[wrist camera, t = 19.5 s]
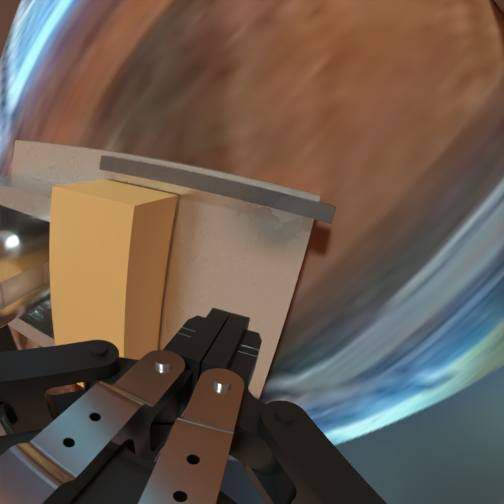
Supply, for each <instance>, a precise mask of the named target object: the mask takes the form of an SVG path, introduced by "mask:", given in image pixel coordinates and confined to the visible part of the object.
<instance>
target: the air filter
mask: <svg viewBox="0 0 504 504" xmlns="http://www.w3.org/2000/svg"><path fill="white" fill-rule="evenodd" d="M49 239H50V222H49V221H46V220H43V219H40V218H37V217H35V218H31V219H28V220H24V221H20V222H17V223H13V224H10V225H6V226H3V227H0V328H1V327H3V326H5V325H6V324H8V323H10V322H11V321H13V320H14V319H16V318H18V317H19V316H21V315H23V314H24V313H26V312H28V311H29V310H31V309H33V308H34V307H36V306H38V305H40V304H41V303H43V302H45V301H46V300H48V299H50V298H51V293H50V267H49Z"/></svg>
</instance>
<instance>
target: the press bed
mask: <svg viewBox="0 0 504 504" xmlns="http://www.w3.org/2000/svg"><path fill="white" fill-rule="evenodd" d="M102 179H106V180H111V181H116V182H120V183H125V184H130V185H134V186H139V187H143V188H148V189H152V190H157V191H161V192H166V193H170V194H174V195H178V197H177V203H176V209H175V214H174V220H173V227H172V233H171V239H170V246H169V253H168V260H167V267H166V274H165V282H164V290H163V299H162V307H161V317H160V326H159V337H158V348H157V350H163V349H164V348H165V346H166V345H167V344H168V343H169V342H170V340H171V339H172V338H173V337H174V336H175V334H176V333H178V331H179V330H180V328H182V326H183V325H184V324H185V322H186V321H187V320H188V319H190V318H193V317H195V316H197V315H198V316H201V317H205V318H206V316H207V315H208V314H209V312H210V311H211V309H212V308H217V309H220V310H224V311H227V312H231V313H235V314H238V315H242V316H246V317H249V318H250V321H249V326H248V330H250V331H254V332H258V333H259V334H260V337H261V340H262V343H261V347H260V351H259V354H258V358H257V362H256V366H255V370H254V373H253V376H252V379H251V382H250V385H249V388H248V389H249V391H250V392H251V394H252V395H253V396H254V397H255V398H256V399H258V400H259V397H260V395H261V392H262V389H263V386H264V383H265V380H266V377H267V374H268V371H269V368H270V365H271V362H272V359H273V356H274V353H275V350H276V347H277V344H278V341H279V338H280V334H281V331H282V328H283V325H284V322H285V319H286V315H287V312H288V309H289V306H290V302H291V299H292V296H293V292H294V289H295V286H296V282H297V279H298V276H299V272H300V269H301V265H302V262H303V258H304V255H305V251H306V248H307V244H308V241H309V237H310V233H311V230H312V226H313V222H314V219H316V220H320V221H323V222H327V223H330V224H332V220H333V216H334V213H335V209H336V207H335V206H333V205H330V204H326V203H323V202H319V200H320V195H318V194H315V193H311V192H307V191H303V190H300V189H296V188H292V187H288V186H284V185H280V184H276V183H272V182H268V181H264V180H260V179H255V178H251V177H247V176H242V175H238V174H234V173H229V172H225V171H220V170H215V169H211V168H206V167H201V166H196V165H191V164H186V163H181V162H176V161H170V160H165V159H160V158H154V157H148V156H143V155H137V154H131V153H124V152H118V151H111V150H105V149H98V148H91V147H83V146H76V145H68V144H59V143H50V142H41V141H31V140H16V141H15V149H14V157H13V166H12V175H4V176H0V227H3V226H6V225H10V224H13V223H17V222H20V221H24V220H28V219H31V218H35V217H37V218H40V219H43V220H46V221H49V222H50V213H51V198H52V186H56V185H63V184H70V183H77V182H85V181H93V180H102ZM8 325H10V326H11V327H13V328H14V329H16V330H17V331H19V332H20V333H22V334H23V335H25V336H26V337H28V338H29V339H31V340H32V341H34V342H36V343H37V344H39V345H41V346H42V347H49V346H55V338H54V330H53V320H52V308H51V298H50V299H48V300H46V301H45V302H43V303H41V304H40V305H38V306H36V307H34V308H33V309H31V310H29V311H28V312H26V313H24V314H23V315H21V316H19V317H18V318H16V319H14V320H13V321H11V322H10V323H8Z"/></svg>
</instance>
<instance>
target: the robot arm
mask: <svg viewBox="0 0 504 504" xmlns="http://www.w3.org/2000/svg"><path fill="white" fill-rule="evenodd" d="M494 2H495V3H496V4H497V6H498V7H499V9H500V10H501V11H502V13H503V14H504V0H494ZM249 321H250V318H249V317H246V316H242V315H238V314H235V313H231V312H227V311H224V310H220V309H217V308H212V309H211V311H210V312H209V314H208V315H207V316H206V318H205V317H201V316H198V315H197V316H195V317H193V318H190V319H188V320H187V321H186V322H185V324H184V325H183V326H182V328H180V330H179V331H178V333H176V334H175V336H174V337H173V338H172V339H171V340H170V342H169V343H168V344H167V345H166V346H165V348H164V349H163V350H155V351H151V352H149V353H147V354H146V355H145V356H143V357H142V358H141V359H140V360H136V359H129V358H123V357H119V350H118V348H117V347H116V346H115V345H114V344H113V343H111V342H108V341H105V340H90V341H83V342H77V343H70V344H64V345H57V346H49V347H42V348H34V349H26V350H18V351H10V352H0V504H237V503H236V502H235V501H233V500H232V499H231V498H230V497H228V496H227V495H226V494H224V493H223V492H221V491H220V486H221V482H222V478H223V474H224V470H225V466H226V462H227V458H228V454H229V455H231V456H232V457H234V458H236V459H237V460H239V461H241V462H242V463H244V469H245V471H246V473H247V474H248V476H249V478H250V480H251V481H252V483H253V484H254V486H255V487H256V489H257V491H258V492H259V494H260V496H261V497H262V498H263V500H264V502H265V503H266V504H386V502H385V501H384V500H383V499H382V498H381V497H380V496H379V495H378V494H377V493H376V492H375V491H374V490H373V489H372V487H371V486H370V485H369V484H368V483H367V482H366V481H365V480H364V479H363V478H362V477H361V476H360V474H359V473H358V472H357V471H356V470H355V469H354V468H353V467H352V466H351V464H350V463H349V462H348V461H347V460H346V459H345V458H344V457H343V456H342V454H341V453H340V452H339V451H338V450H337V449H336V448H335V446H334V445H333V444H332V443H331V442H330V441H329V439H328V438H327V437H326V436H325V435H324V434H323V432H322V431H321V430H320V429H319V428H318V427H317V425H316V424H315V423H314V422H313V421H312V419H311V418H310V417H309V416H308V415H307V414H306V412H305V411H304V410H303V409H302V408H301V407H299V406H298V405H296V404H294V403H291V402H287V401H273V402H270V403H268V404H265V403H263V402H261V401H259V400H258V399H256V398H255V397H254V396H253V395H252V394H251V392H250V391H249V389H248V388H249V385H250V382H251V379H252V376H253V373H254V370H255V366H256V362H257V358H258V354H259V351H260V347H261V343H262V340H261V337H260V334H259V333H258V332H254V331H250V330H248V326H249ZM81 382H83V385H84V390H81V391H75V392H70V393H64V394H59V395H48V394H47V393H45V392H46V391H47V390H48V389H50V388H53V387H59V386H65V385H70V384H76V383H81ZM185 409H186V410H185ZM184 410H185V412H184ZM183 412H184V415H183V417H181V416H182V414H183ZM162 448H163V450H162ZM161 450H162V452H161V454H160V456H159V459H158V461H157V462H154V460H155V458H156V457H157V455H158V454H159V452H160V451H161Z"/></svg>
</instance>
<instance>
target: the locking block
mask: <svg viewBox="0 0 504 504" xmlns="http://www.w3.org/2000/svg"><path fill="white" fill-rule="evenodd" d="M177 197H178V195H174V194H170V193H166V192H161V191H157V190H152V189H148V188H143V187H139V186H134V185H130V184H125V183H120V182H116V181H111V180H106V179H102V180H93V181H85V182H77V183H70V184H63V185H56V186H52V198H51V213H50V239H49V267H50V293H51V308H52V320H53V330H54V338H55V346H57V345H64V344H70V343H77V342H83V341H90V340H105V341H108V342H111V343H113V344H114V345H115V346H116V347H117V348H118V350H119V357H123V358H129V359H136V360H140V359H141V358H142V357H143V356H145V355H146V354H147V353H149V352H151V351H155V350H157V348H158V337H159V326H160V317H161V307H162V299H163V290H164V282H165V274H166V267H167V260H168V253H169V246H170V239H171V233H172V227H173V220H174V214H175V209H176V203H177ZM76 384H78V385H80V386H82V387H84V385H83V382H81V383H76Z"/></svg>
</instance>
